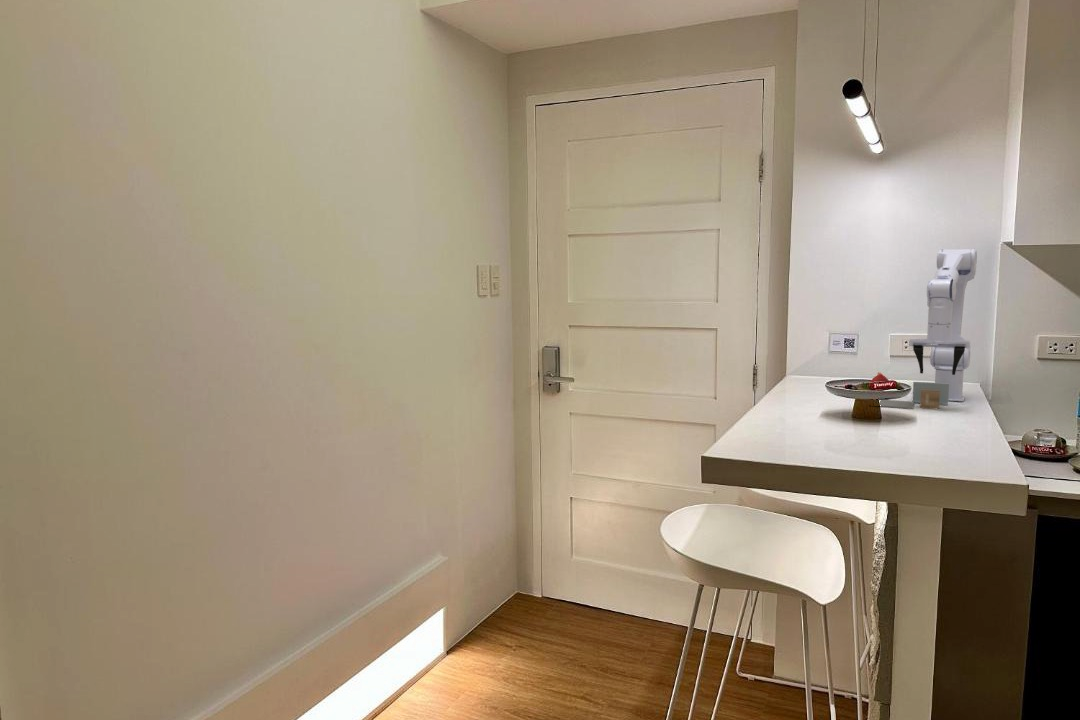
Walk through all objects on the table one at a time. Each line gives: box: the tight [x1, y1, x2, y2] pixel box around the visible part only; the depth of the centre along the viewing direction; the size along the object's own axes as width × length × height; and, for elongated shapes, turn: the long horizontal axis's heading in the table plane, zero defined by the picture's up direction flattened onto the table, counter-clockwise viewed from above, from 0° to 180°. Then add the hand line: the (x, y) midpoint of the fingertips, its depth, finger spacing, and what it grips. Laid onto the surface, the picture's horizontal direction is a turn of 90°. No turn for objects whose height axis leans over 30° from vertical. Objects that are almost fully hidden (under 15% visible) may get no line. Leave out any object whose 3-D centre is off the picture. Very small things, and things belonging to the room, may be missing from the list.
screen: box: [911, 381, 949, 406], centre depth 215 cm, size 3×9×6 cm, turn 62°
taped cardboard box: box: [919, 389, 940, 410], centre depth 210 cm, size 5×5×5 cm
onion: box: [869, 371, 890, 383], centre depth 224 cm, size 6×6×8 cm
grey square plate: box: [880, 399, 915, 410], centre depth 214 cm, size 11×11×1 cm
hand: (937, 373), depth 205 cm, fingers open, 7 cm apart
